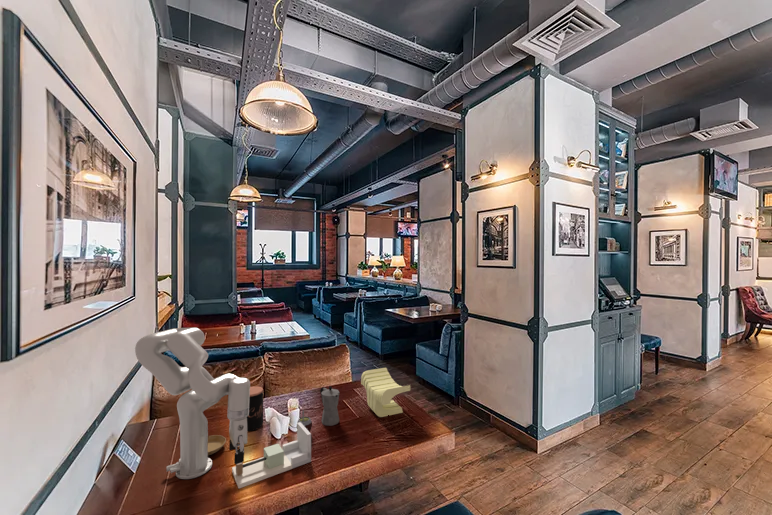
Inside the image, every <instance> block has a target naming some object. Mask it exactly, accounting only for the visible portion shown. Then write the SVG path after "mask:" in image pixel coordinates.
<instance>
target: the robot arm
mask: <svg viewBox="0 0 772 515" xmlns="http://www.w3.org/2000/svg"><path fill="white" fill-rule="evenodd" d="M205 340H206V336H205V333H204V332H203V331H202V330H201V329H200V328H198V327H178V328H170V329H166V330H163V331H157V332H153V333H150V334H147V335H145V336H143V337H141V338H140V339H139V340H138V341H136V344H135V348H134V349H135V350H134V351H135V352H134V353H135V356H136V359H137V361H138V362H139V364H140V365H141V366H142V367H144V369H146V370H147V371H148V372H149V373H151V375H153V376H154V377H155V380H157V381H158V382H159V383H160V385H161V386H162V387H163V389H165V391H166V392H167V393H168V394H170V395H172V396H178V395H179V396H180V394H182V395H181V396H180V397H179V399H178V400H177V403H176V408H177V409H176V410H177V414H178V418H179V429H180V430H179V436H180V439H179V440H180V441H179V442H180V443H179V444H180V445H179V448H180V452H179V454H180V455H179V456H180V458H179V459H178V461H177V462H175V463H174V464H169V465H167V466H166V472H170V474H173V473H175V476H176V477H177V478H178V479H180V480H191V479H195V478H198V477H201V476H202V475H204V474H206V473H208V471H209V470H211V468H212V467H213V460H212V459H211V458H210V457H209V455H208V436H209V431H208V430H209V428H208V425H209V424H208V419H207V417H206V416H205V414H204V411H206V410H208V408H210V407H213V406H214V405H215V404H217V403H219V402H220V401H221V399H222V398H224V397H225V396H227V395H228V396H227V416H226V417H227V419H228V420H229V428H228V434H229V445H228V448H229V449H228V450H229V451H233V450H235V453H234V459H233V460H234V461H233V463H234V465H236V464H238V463H244V461H245V445H246V444H248V431H247V416H248V415H249V398H250V387H251V381H250V379H249V378H247V377H239V376H237V375H235V374H233V373H225V374H222V375H219V376H217V377H215V378H214V377H213V376H212V375H211V373H210V372H209V371H208V370H207V369H206V368H205V367H203V365H204V364H205V363H206V362H207V360H208V358H209V353H208V352H207V351H206V350H205V349H204V348H203V347H202V345H203V344H204V343H205ZM167 351H170V352H171V353H172V354H173V355H174V356H175V357H176V358H177V359H178V360H179V361H180V362H181V363H182V365H183V366H180V365H179V364H178V363H177V362H176V361H175V360H174V359H173V358H172V357H170V356H168V355H166V354H162V353H164V352H167ZM183 393H184V394H183Z"/></svg>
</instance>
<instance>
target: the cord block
mask: <svg viewBox="0 0 772 515" xmlns="http://www.w3.org/2000/svg"><path fill="white" fill-rule="evenodd" d="M263 457H264V458H262V457H261V458H262V459H259V458H258V459H259V460H256V459H255V460H256V461H253V460H252V461H253V462H250V461H249V462H250V463H247V462H246V463H247V464H244V462H242V463H238V464H235V466H236V474H237V476H238V475H241V474H243V468H244V467H247V466H250V465H253V464H256V463H259V462H261V461H264V462H265V464H266V465H267V467H268V469H271V468H273V467H276V466H279V465H282V464H284V451H283V448H282V447H281V445H280V443H274V444H272V445H269V446H266V447H263ZM243 464H244V465H243Z"/></svg>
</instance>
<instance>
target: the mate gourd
mask: <svg viewBox="0 0 772 515" xmlns="http://www.w3.org/2000/svg"><path fill="white" fill-rule="evenodd" d="M301 414H302V416H301V417H300V418H298V420H297V422H296V424H297V423H299V422H301V423H302V424H303V425H304V427H305V428H306V429H307V430H308V431H309V432H310V433H311V431H312V427H313V422H312V419H311V417H309V416H305V409H302V413H301Z"/></svg>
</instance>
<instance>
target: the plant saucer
mask: <svg viewBox="0 0 772 515" xmlns="http://www.w3.org/2000/svg"><path fill="white" fill-rule="evenodd" d="M226 442H227V438H226V437H225V436H223V435H221V434H219V435H218V434H213V435H208V456H210V455H213V454H215V453H217V452H218V451H220V450H221V449H222V448H223V446H225V444H226Z"/></svg>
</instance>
